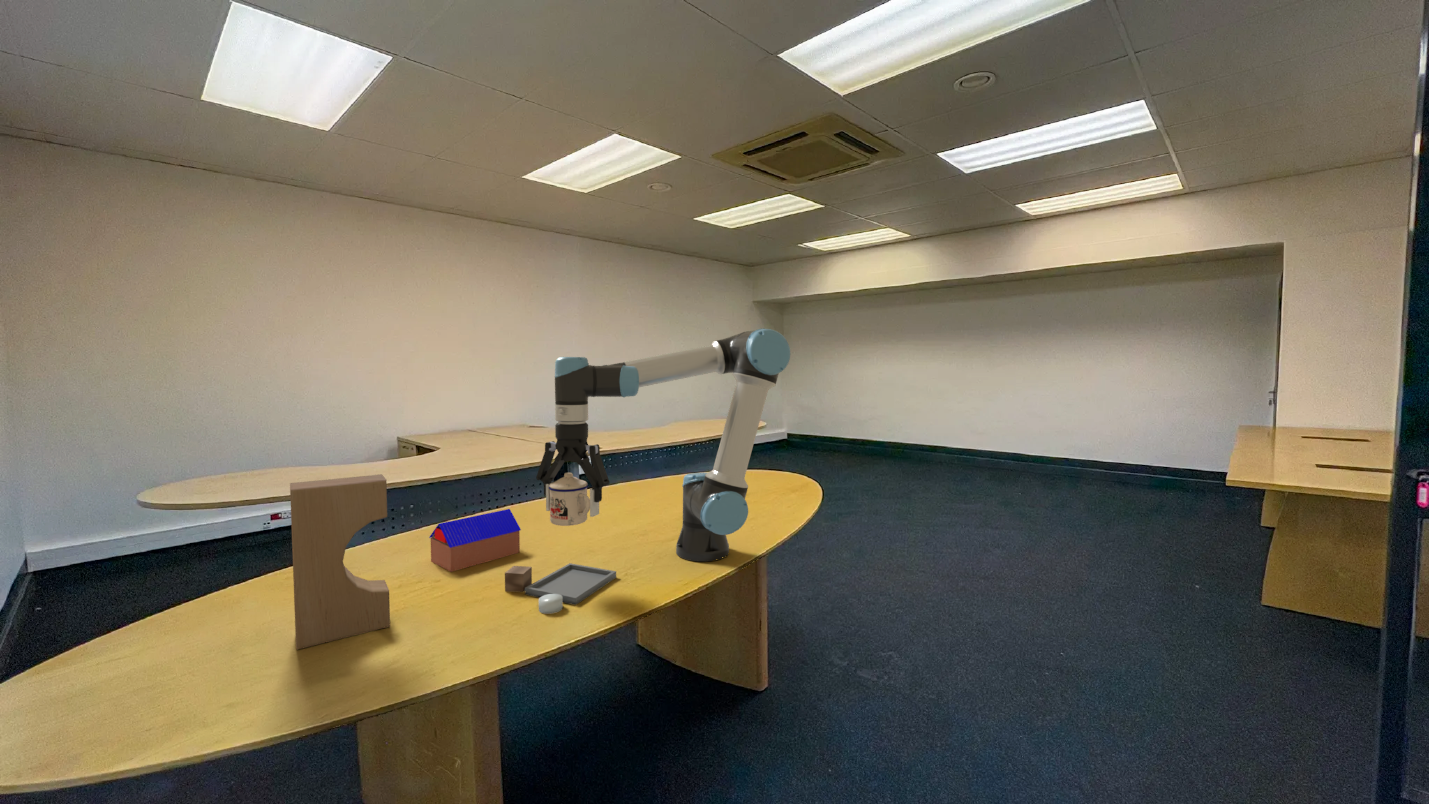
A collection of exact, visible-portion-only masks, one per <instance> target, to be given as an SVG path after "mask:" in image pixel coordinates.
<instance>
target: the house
mask: <svg viewBox="0 0 1429 804" xmlns="http://www.w3.org/2000/svg"><path fill="white" fill-rule="evenodd" d="M520 531H522V529H521V527H520V525H519V523H518V522H517V519H516V518H515V517H514V515H513V512H512V511H511V509H510V508H507V509H503V510H502V509H501V510H497V511H494V512H493V511H492V512H489V513H488V512H487V513H483V514H478V515H474V516H469V517H464V518H461V519H455V520H450V521H446V522H441V523H438V524H437V525H436V527H435V529H433V531H432V533H430V535H429V537H428V538H429V539H430V562H431V563H433V564H436V565H437V566H439V567H441V568H443V569H444V570H446V571H448V572H452V573H453V572H455V571H458V570H459V571H460V570H463V569H465V568H468V567H469V566H470V567H472V566H476V564H477V565H480V564H483V563H486V562H491V561H494V560H498V559H501V558H504V557H508V556H511V555H515V554H519V553H520V550H521V549H520V548H521V547H520V545H521V544H520ZM518 552H519V553H518ZM470 567H469V568H470ZM462 568H463V569H462Z"/></svg>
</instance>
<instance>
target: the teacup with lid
mask: <svg viewBox="0 0 1429 804" xmlns="http://www.w3.org/2000/svg"><path fill="white" fill-rule="evenodd" d="M588 487H589V484H588V482H587V481H586V480H583V479H580V478H578V477H576V476H574V474H573V473H572V472H565V473H564V475H563V477H560V478H559V479H557V480H554V481H552V482H551V484H550V485H549V489H550V511H549V522H550V523H551V524H552V525H555V526H564V527H567V526H568V527H569V526H576V525H580V524H584V523H585V522H586V521H587V520H588V513H590V496H588Z"/></svg>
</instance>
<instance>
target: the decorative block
mask: <svg viewBox="0 0 1429 804" xmlns="http://www.w3.org/2000/svg"><path fill="white" fill-rule="evenodd" d="M387 483H388V482H387V478H385V476H384V475H383V474H371V475H370V474H369V475H360V476H352V477H339V478H332V479H331V478H330V479H329V478H328V479H321V480H319V479H318V480H309V481H308V480H307V481H299V482H290V483H289V493H290V494H289V497H290V498H289V499H290V519H291V520H290V522H291V523H290V524H291V525H290V526H291V544H292V545H291V548H292V549H291V550H292V575H293V598H294V599H293V600H294V601H293V602H294V626H295V627H294V629H295V630H294V631H295V649H297V650H300V649H301V650H302V649H305V648H309V647H313V646H316V645H321V644H324V643H325V642H326V643H328V642H334V641H336V640H341V639H344V638H345V639H346V638H348V637H353V636H356V635H362V634H366V633H369V632H373V631H377V630H380V629H385V628H389V627H390V626H391V609H390V602H391V601H390V589H389V587H388V584H387V582H386V580H385V579H376V580H374V579H372V580H368V579H365V578H362V577H359V576H356V575H354V574H353V572H351V571H350V570H349V569H348V568H347V567H346V565H345V564H344V559H345V552H346V549H347V546H348V545H349V543H350V542H351V540H352V539H353V537H354V536H355V534H356V533H357V532H359V531H360V530H361V529H363V528H365V527H366V526H367V525H368V524H370V523H372V522H375V521H378V520H381V519H385V518H388V498H387V497H388V494H387V493H388V491H387V487H388V486H387Z"/></svg>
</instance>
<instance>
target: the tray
mask: <svg viewBox="0 0 1429 804" xmlns="http://www.w3.org/2000/svg"><path fill="white" fill-rule="evenodd" d="M614 579H617V571H616V570H610V569H605V568H599V567H593V566H588V565H583V564H576V563H572V562H571V563H570V562H569V563H567V564H565V565H563V566H562V567H559V568H558V569H557V570H555V571H552V572H551V573H549V574H547V575H545V576H544V577H542V578H540V579H538V580H536V581H535V582H532V584H531V585H529V586H527V587H525V591H524V595H525V596H530V597H535V598H538V599H539V598H540V597H542V596H544V595H547V594H559V595H561V596H562V597H563V603H564V604H569V605H573V606H576V605H578V604H579V603H581V602H582V601H584V600H585V599H586V598H587V599H588V597H590V596H591V595H593V594H594V593H595V592H597V591H599V590H600V589H602V588H603V587H604V586H606V585H607V584H609V583H610V582H612V581H613V580H614Z"/></svg>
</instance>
